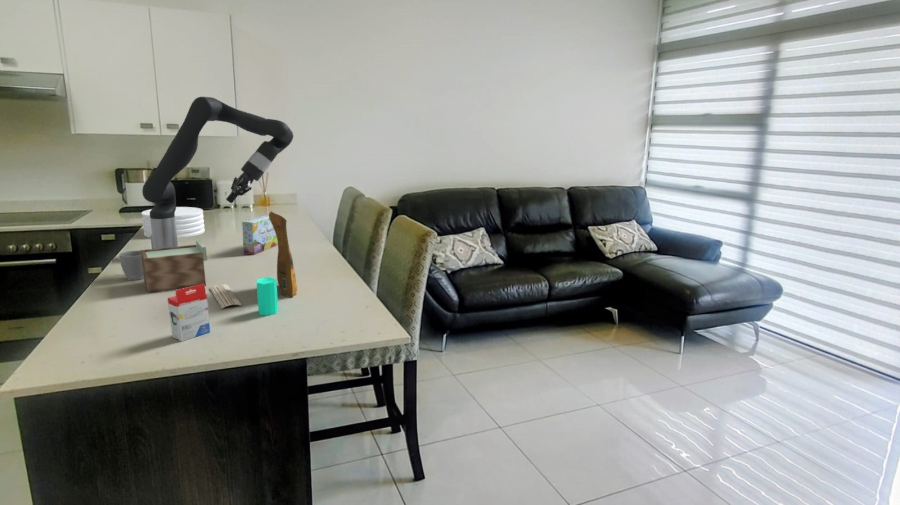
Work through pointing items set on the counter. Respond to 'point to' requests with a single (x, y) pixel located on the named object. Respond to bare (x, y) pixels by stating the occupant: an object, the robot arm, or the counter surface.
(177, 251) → the lid
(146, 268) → the box
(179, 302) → the ink box
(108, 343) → the counter surface
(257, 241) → the snack box
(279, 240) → the pancake mix bag
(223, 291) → the newspaper
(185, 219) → the plate stack
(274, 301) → the candle
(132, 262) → the mug
